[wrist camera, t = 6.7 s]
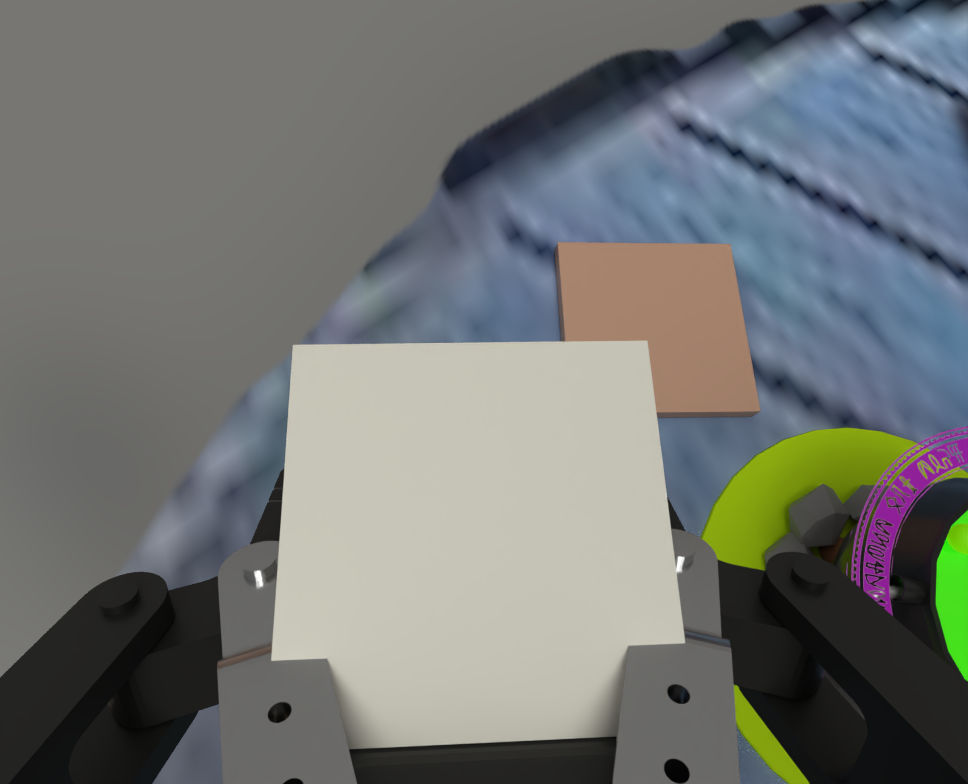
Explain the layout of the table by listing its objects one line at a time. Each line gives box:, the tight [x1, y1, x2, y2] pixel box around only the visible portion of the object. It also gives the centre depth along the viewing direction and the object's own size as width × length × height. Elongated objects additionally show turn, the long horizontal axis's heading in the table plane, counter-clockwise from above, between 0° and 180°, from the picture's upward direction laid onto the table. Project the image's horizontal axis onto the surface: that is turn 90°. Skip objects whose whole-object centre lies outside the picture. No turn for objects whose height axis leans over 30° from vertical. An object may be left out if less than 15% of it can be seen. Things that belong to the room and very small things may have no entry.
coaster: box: [555, 242, 760, 418], centre depth 27 cm, size 8×8×1 cm
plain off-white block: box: [271, 341, 685, 749], centre depth 13 cm, size 5×5×10 cm
